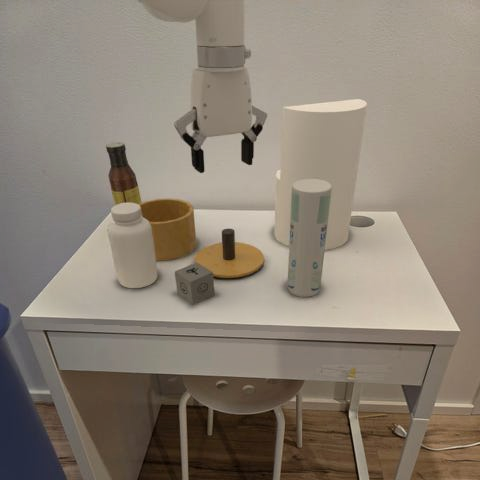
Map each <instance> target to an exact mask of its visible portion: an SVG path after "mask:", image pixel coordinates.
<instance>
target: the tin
mask: <svg viewBox="0 0 480 480" xmlns="http://www.w3.org/2000/svg"><path fill="white" fill-rule="evenodd" d="M138 205H139V206H140V207H141V212H142V217H143V218H145V219H147V220H148V221H149V223H150V225H151V229H152V236H153V243H154V250H155V258H156V261H170V260H171V261H172V260H176V259H179V258H182V257H185V256H187V255H189V254H190V253H192V252H193V251H194V250H195V249H196V247H197V235H196V234H197V233H196V223H195V210H194V206H193V205H192V204H191V203H190V202H188V201H185V200H183V199H178V198H156V199H150V200H146V201H143V202H142V203H140V204H138Z"/></svg>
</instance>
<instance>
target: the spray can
mask: <svg viewBox="0 0 480 480" xmlns="http://www.w3.org/2000/svg"><path fill="white" fill-rule="evenodd" d="M331 189H332V187H331V184H330V183H328V182H327V181H324V180H319V179H302V180H298V181H296V182H294V183H293V184H292V196H291V218H290V241H289V246H288V262H287V263H288V264H287V265H288V266H287V290H288V292H289V293H290V294H292V295H294V296H297V297H302V298H309V297H313V296H316V295H317V294H318V293H319V292H320V289H321V285H322V278H323V277H322V275H323V267H324V266H323V265H324V258H325V251H326V250H325V242H326V233H327V224H328V216H329V207H330V198H331Z"/></svg>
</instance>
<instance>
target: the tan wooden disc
mask: <svg viewBox="0 0 480 480" xmlns="http://www.w3.org/2000/svg"><path fill="white" fill-rule="evenodd" d="M193 259H194V260H193V261H194V262H193V263H196V262H197V263H199V264H200V265H202V266H204V267H205V268H207V269H209V270H210V271H212V272H213V278H214V277H215V278H220V279H233V278H241V277H245V276H249V275H251V274H253V273H255V272H257V271H259V269H261V268H262V266H263V264H264V263H265V256H264V253H263V252H262V251H261V250H260V249H259V248H258V247H257V246H254V245H252V244H248V243H245V242H237V241H236V233H235V229H233V228H224V229H222V230H221V242H217V243H213V244H210V245H206V246H205V247H203V248H201V249H200V250H199V251H197V253H196V254H195V256H194V258H193Z"/></svg>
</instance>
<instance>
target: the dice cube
mask: <svg viewBox="0 0 480 480" xmlns="http://www.w3.org/2000/svg"><path fill="white" fill-rule="evenodd" d="M174 278H175V285H176V293H177V295H178V296H179V297H181V298H182V299H184V300H185V301H186V302H187V303H188V304H190V305H192V306H194V305H197V304H198V303H201V302H203V301H206V300H207V299H209V298H212V297H213V296H215V281H214V276H213V272H212V271H210V270H209V269H207V268H205V267H204V266H202V265H200V264H199V263H197V262H196V263H195V262H193V263H191V264H189V265H186V266H184V267H181V268H179V269H176V270H174Z"/></svg>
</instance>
